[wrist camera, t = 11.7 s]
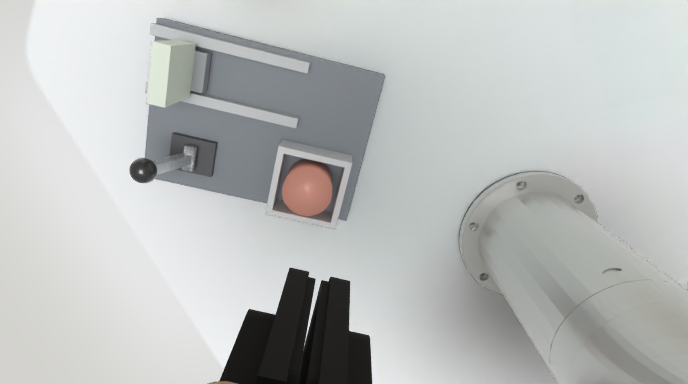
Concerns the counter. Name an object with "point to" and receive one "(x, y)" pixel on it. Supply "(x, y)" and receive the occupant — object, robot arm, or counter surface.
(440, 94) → the counter surface
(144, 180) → the toggle
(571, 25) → the counter surface
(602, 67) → the counter surface
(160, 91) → the pale green block
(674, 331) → the robot arm
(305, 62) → the panel
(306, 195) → the button
